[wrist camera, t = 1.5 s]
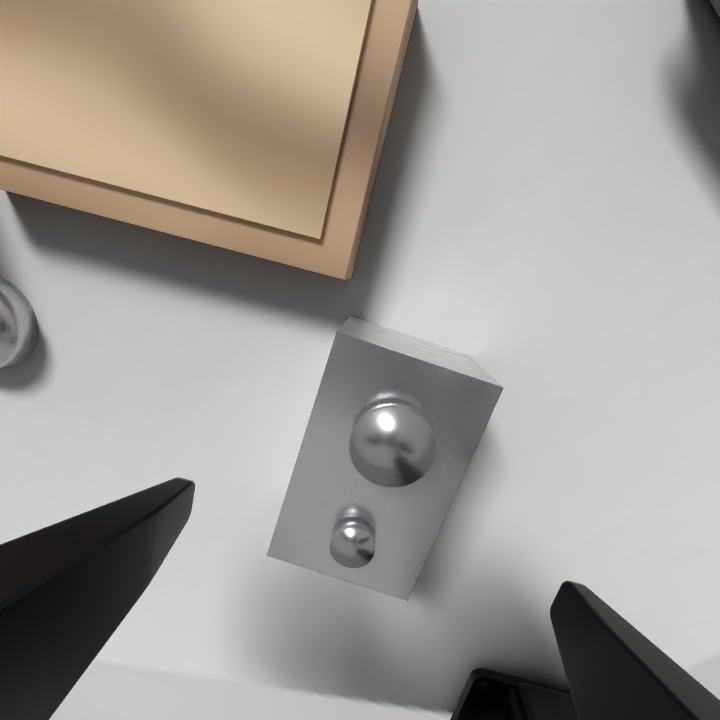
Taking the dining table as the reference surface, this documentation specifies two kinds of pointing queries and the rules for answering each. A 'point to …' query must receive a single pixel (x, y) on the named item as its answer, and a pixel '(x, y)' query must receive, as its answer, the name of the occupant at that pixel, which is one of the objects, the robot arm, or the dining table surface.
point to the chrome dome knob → (15, 325)
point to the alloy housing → (382, 457)
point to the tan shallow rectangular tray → (206, 116)
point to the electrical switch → (716, 6)
